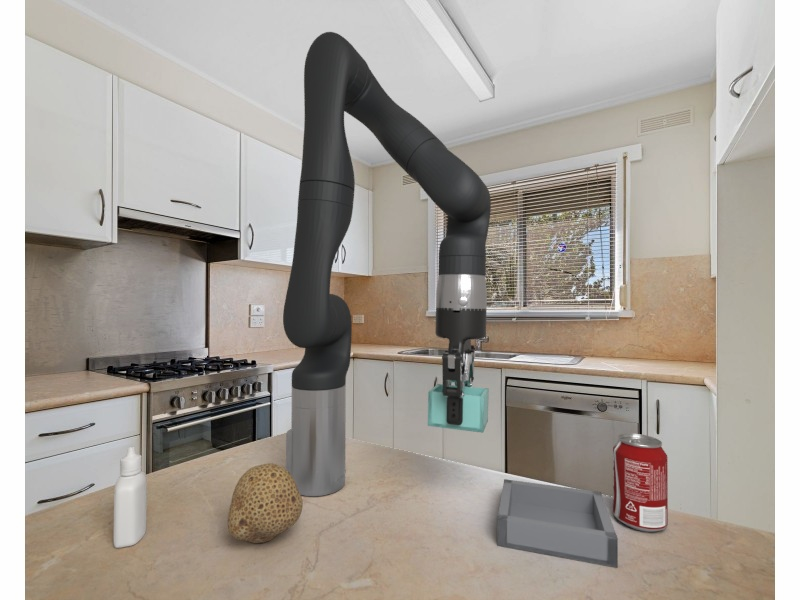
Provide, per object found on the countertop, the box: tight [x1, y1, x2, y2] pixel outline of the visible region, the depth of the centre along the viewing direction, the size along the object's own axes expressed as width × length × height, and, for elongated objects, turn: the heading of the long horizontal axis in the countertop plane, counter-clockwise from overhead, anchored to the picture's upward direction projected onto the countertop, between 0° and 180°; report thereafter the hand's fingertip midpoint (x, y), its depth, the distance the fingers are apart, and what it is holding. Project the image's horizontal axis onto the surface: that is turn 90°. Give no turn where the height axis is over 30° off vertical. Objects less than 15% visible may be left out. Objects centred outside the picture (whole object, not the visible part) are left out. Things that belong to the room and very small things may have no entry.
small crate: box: [427, 383, 489, 434], centre depth 61 cm, size 8×6×5 cm
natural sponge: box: [227, 462, 303, 544], centre depth 54 cm, size 9×9×10 cm
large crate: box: [497, 478, 619, 569], centre depth 57 cm, size 14×13×4 cm
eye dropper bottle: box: [113, 446, 148, 549], centre depth 55 cm, size 4×6×12 cm
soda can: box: [612, 432, 669, 533], centre depth 59 cm, size 7×7×12 cm
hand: (458, 417), depth 61 cm, fingers closed on small crate, 6 cm apart
